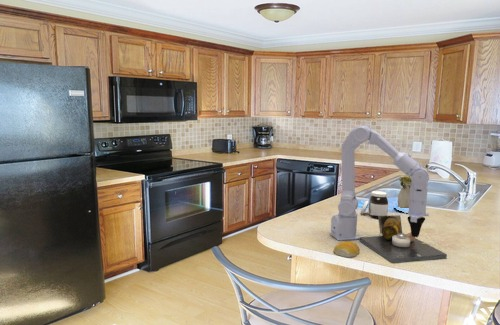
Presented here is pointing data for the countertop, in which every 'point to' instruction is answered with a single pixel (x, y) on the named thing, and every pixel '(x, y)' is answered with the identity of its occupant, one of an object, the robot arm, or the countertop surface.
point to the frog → (404, 192)
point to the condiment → (390, 226)
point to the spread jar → (377, 204)
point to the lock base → (402, 249)
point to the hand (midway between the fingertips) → (415, 236)
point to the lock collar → (402, 240)
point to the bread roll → (346, 249)
